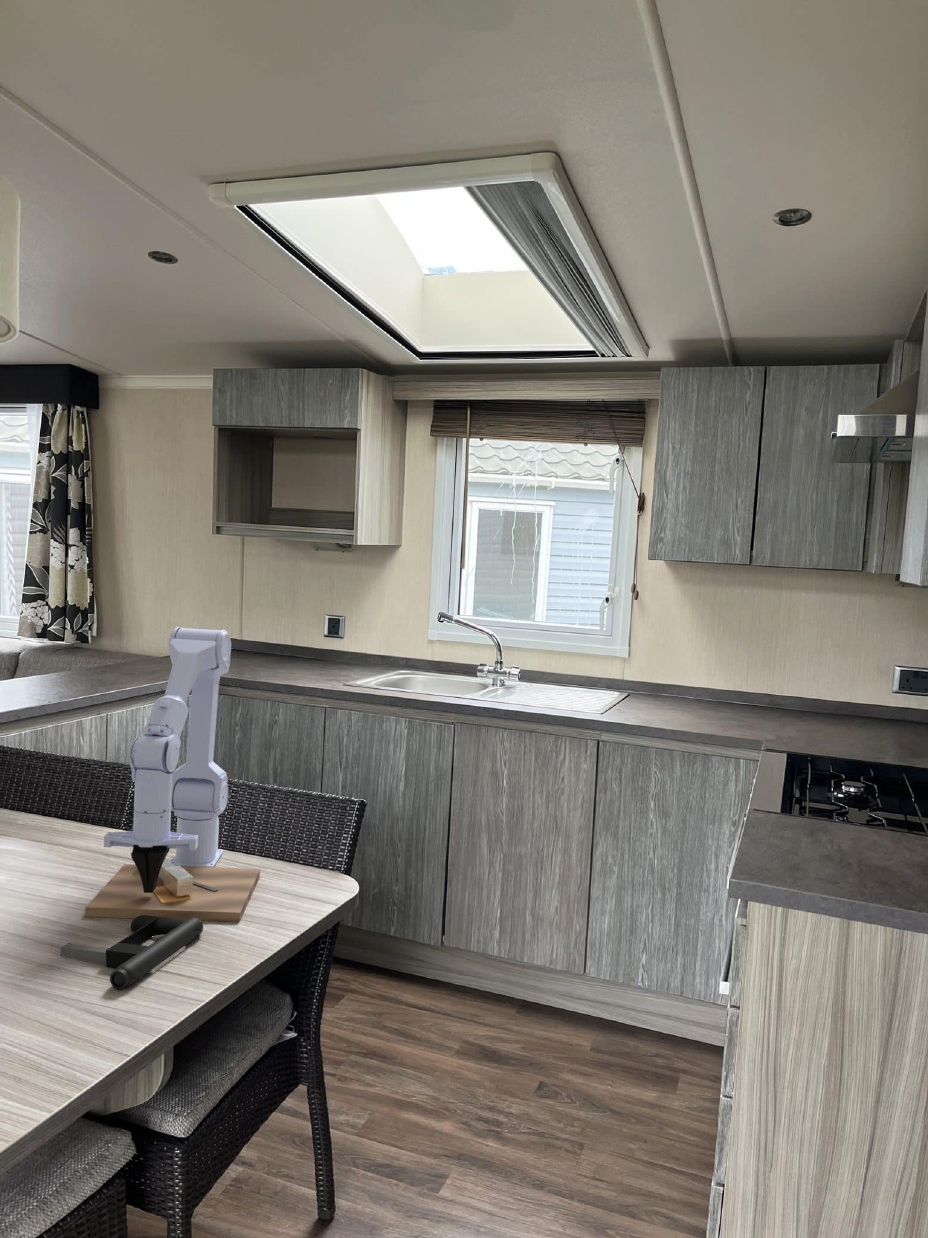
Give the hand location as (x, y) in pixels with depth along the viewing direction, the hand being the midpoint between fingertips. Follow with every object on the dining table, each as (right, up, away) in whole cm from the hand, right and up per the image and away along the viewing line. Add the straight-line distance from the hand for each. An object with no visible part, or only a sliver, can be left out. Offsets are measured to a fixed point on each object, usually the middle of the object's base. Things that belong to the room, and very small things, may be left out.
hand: (149, 890), depth 149 cm
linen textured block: (0, 0, +7) cm, 7 cm away
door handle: (+2, -5, -17) cm, 18 cm away
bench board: (+3, -2, +5) cm, 7 cm away
